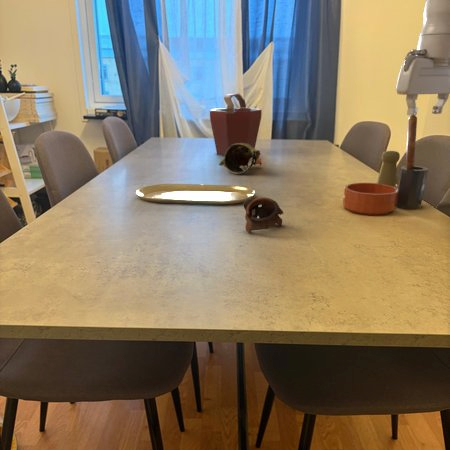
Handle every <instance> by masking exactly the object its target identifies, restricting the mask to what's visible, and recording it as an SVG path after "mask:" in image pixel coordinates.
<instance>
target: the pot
mask: <svg viewBox="0 0 450 450" xmlns="http://www.w3.org/2000/svg"><path fill="white" fill-rule="evenodd" d="M261 154H262V153H261V151H260V149H259V150H258V149H256V148H255V149H254V148H253V147H252V146H251V145H249V144H246V143H235V144H232V145H231V146H230V147H229V148H228V149H227V151H226V152H225V155H224V156H223V159H222V160H221V161H220V162H219V164H218V166H220V167H221V166H223V167H224V168H225V169H226V170H227V171H229V172H230V173H232V174H235V175H242V174H245V173H247V172H249V171H250V170H251V169H252V167H254V166H256V165H257V166H258V165H259V167H262V165H263V163H262V162H263V161H262V158H260V157H261ZM250 160H251V162H250ZM249 163H250V164H249ZM242 167H244V168H245V167H247V168H245V169H243V168H242Z"/></svg>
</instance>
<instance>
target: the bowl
mask: <svg viewBox="0 0 450 450" xmlns="http://www.w3.org/2000/svg"><path fill="white" fill-rule="evenodd" d="M398 193H399V189H397V186H396V187H393V186H390V185H385V184H379V183H377V182H354V183H353V182H352V183H347V184H346V185H345V186H344V191H343V200H342V206H343V207H344V208H345V209H347V210H348V211H349V212H352V213H355V214H359V215H360V214H361V215H370V216H381V215H386V214H389V213H391V212H394V211H395V210H396V209H397V207H396V204H397V199H398Z"/></svg>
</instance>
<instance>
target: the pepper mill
mask: <svg viewBox="0 0 450 450" xmlns="http://www.w3.org/2000/svg"><path fill="white" fill-rule="evenodd" d="M400 158H401V156H400V153H399V151H396V150H385V151H383V153H382V155H381V161H382V165H381V167H380V171H379V174H378V178H377V181H376V183H379V184H385V185H390V186H393V187H396V188H397V167H398V165H397V164H398V162H400V161H399V160H400Z"/></svg>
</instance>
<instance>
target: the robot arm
mask: <svg viewBox="0 0 450 450" xmlns="http://www.w3.org/2000/svg"><path fill="white" fill-rule="evenodd" d="M395 90H396V93H397V95H403V96H404V95H405V96H406V97H405V101H406V106H407V110H406V115H407V116H413V115H415V116H417V114H418V110H419V107H417V102H416V100H418V96H419V95H437V97H436V98H437V101H436V103H435V105H433V106H432V111H431V113H432V115H433V114H434V115H441V114H442V113H443V109H444V106H445V104H446V103H447V101H448V99H449V95H450V0H425V5H424V10H423V25H422V29H421V31H420V33H419V37H418V43H417V48H416V49H414V48H413V49H411V50H409V52H408V53H406V55H405V57H404V60H403V62H402V64H401V67H400V71H399V74H398V78H397V82H396V87H395Z"/></svg>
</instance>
